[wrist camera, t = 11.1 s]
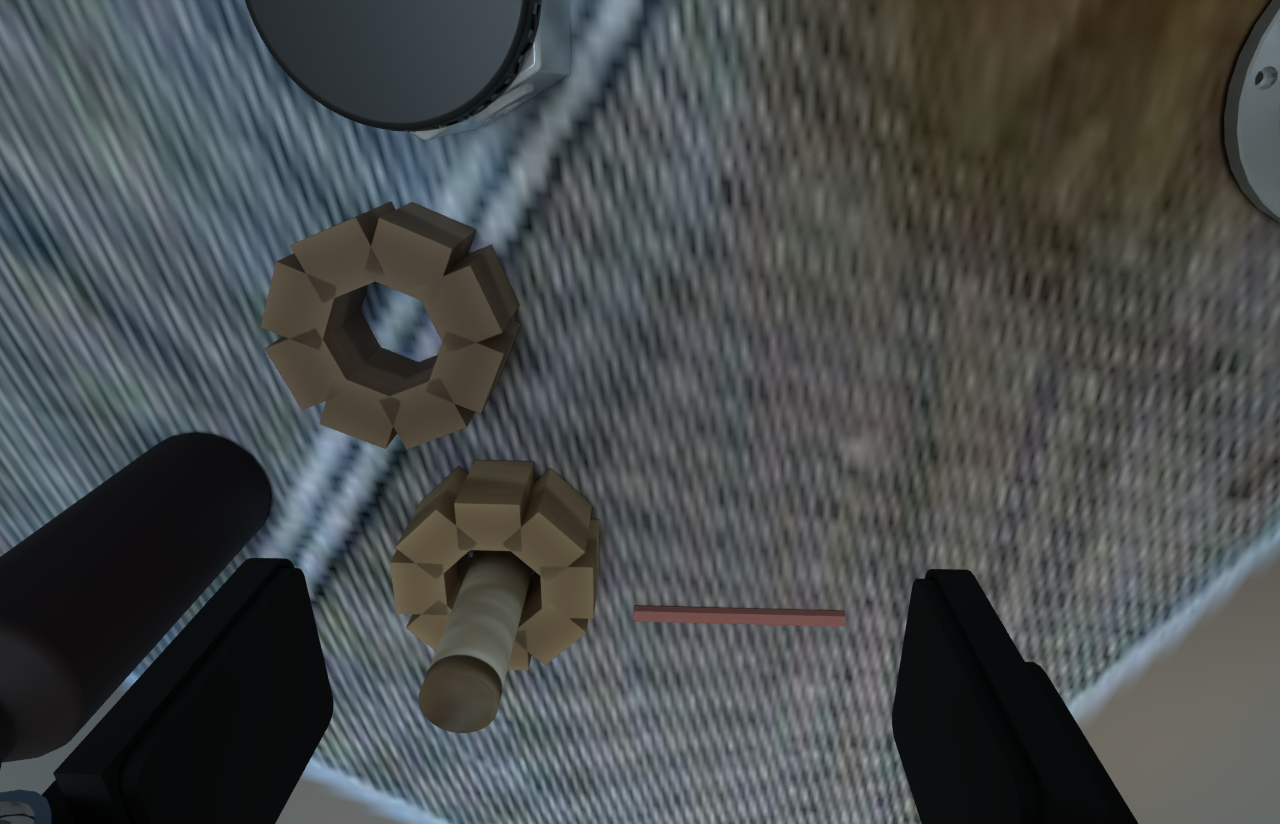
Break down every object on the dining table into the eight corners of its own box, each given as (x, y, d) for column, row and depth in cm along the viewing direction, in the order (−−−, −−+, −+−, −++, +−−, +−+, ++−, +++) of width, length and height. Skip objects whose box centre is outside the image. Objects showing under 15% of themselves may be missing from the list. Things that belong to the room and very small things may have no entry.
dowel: (538, 516, 41) (495, 673, 30) (540, 566, 43) (500, 734, 32) (478, 515, 41) (414, 671, 30) (482, 564, 43) (422, 732, 32)
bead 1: (458, 172, 34) (431, 185, 30) (549, 367, 38) (536, 401, 34) (269, 253, 36) (219, 275, 32) (374, 432, 39) (341, 473, 35)
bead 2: (599, 462, 40) (592, 506, 36) (599, 616, 44) (594, 672, 40) (409, 458, 40) (381, 501, 36) (427, 612, 44) (404, 667, 40)
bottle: (191, 553, 43) (-160, 907, 24) (121, 451, 40) (-329, 759, 22) (297, 521, 42) (14, 864, 23) (232, 413, 39) (-142, 704, 21)
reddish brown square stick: (843, 611, 43) (845, 616, 43) (842, 620, 44) (844, 626, 43) (634, 605, 44) (634, 611, 43) (634, 615, 44) (634, 621, 43)
